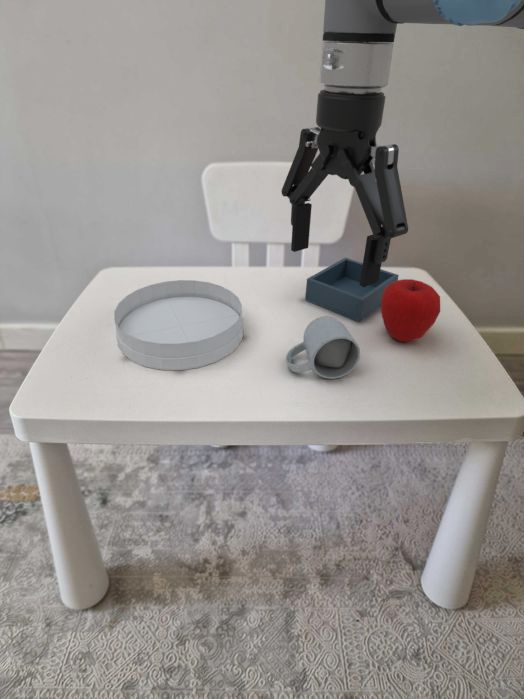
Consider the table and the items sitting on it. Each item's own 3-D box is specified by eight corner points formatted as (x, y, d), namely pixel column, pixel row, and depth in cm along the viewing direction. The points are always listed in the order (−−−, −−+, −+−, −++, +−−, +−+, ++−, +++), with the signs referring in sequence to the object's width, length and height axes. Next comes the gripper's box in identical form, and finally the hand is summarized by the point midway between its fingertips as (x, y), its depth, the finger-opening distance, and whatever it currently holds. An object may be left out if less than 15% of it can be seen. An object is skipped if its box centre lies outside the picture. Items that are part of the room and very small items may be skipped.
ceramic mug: (340, 347, 78) (345, 308, 74) (357, 376, 72) (363, 336, 67) (280, 354, 77) (281, 314, 72) (292, 384, 70) (294, 343, 66)
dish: (262, 353, 76) (263, 328, 73) (128, 383, 69) (123, 357, 66) (220, 294, 93) (219, 272, 90) (109, 314, 86) (104, 290, 83)
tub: (394, 296, 94) (398, 274, 91) (359, 322, 85) (363, 300, 82) (342, 277, 101) (345, 257, 98) (305, 300, 92) (306, 278, 89)
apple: (442, 344, 79) (459, 289, 73) (397, 356, 76) (410, 299, 70) (407, 317, 87) (419, 265, 81) (364, 327, 84) (374, 273, 78)
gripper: (258, 80, 57) (256, 242, 69) (424, 104, 41) (383, 310, 53) (303, 78, 61) (294, 232, 73) (471, 99, 44) (423, 292, 57)
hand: (331, 265), depth 63 cm, fingers open, 13 cm apart
